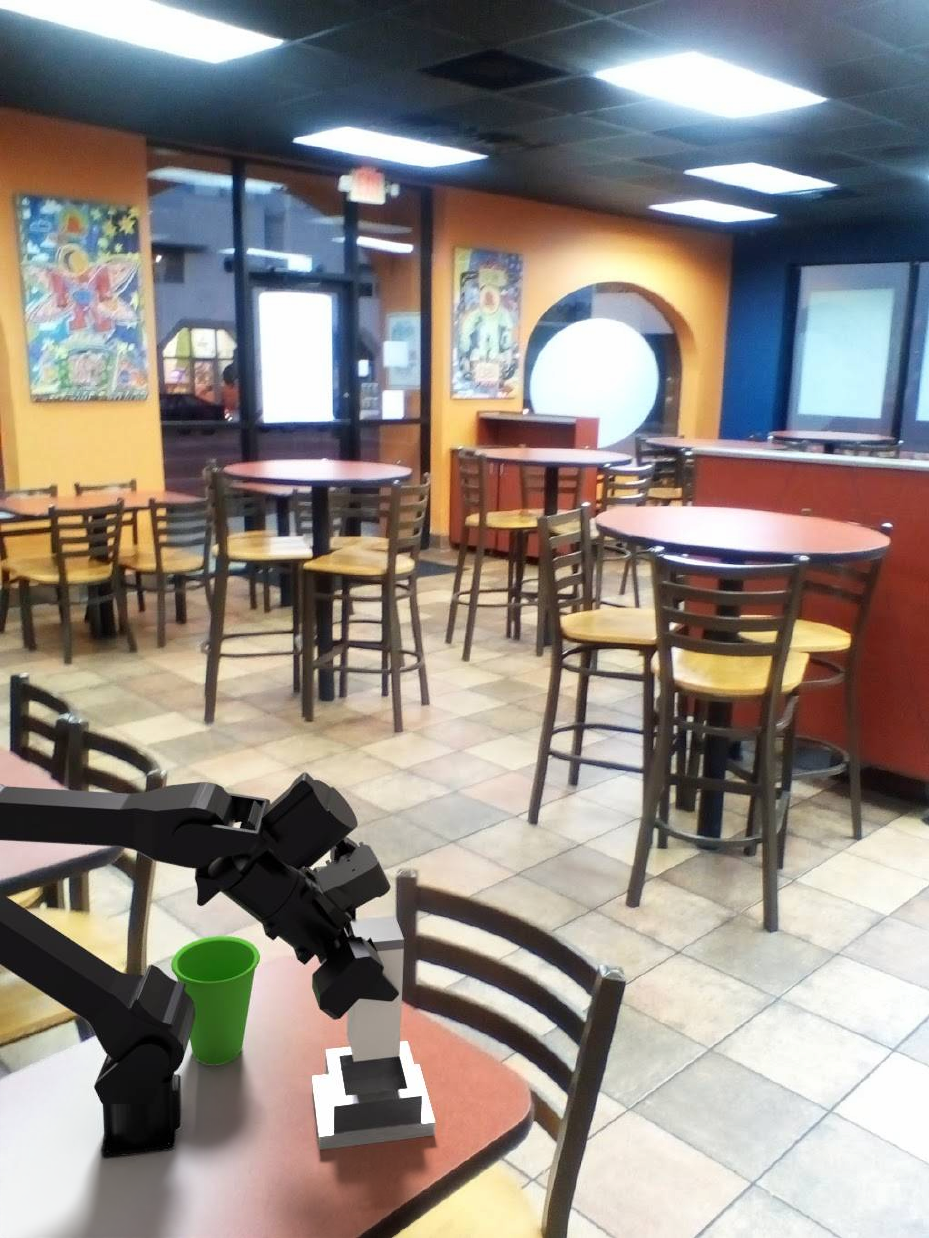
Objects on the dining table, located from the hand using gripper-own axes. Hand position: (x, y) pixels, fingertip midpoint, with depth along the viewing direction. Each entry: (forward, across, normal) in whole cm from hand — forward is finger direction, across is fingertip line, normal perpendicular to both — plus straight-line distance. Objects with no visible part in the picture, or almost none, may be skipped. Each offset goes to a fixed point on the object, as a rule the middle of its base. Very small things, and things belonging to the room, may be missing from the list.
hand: (388, 982), depth 99 cm
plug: (+4, 0, +6) cm, 7 cm away
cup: (-1, +13, +20) cm, 24 cm away
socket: (+8, -1, +11) cm, 14 cm away
